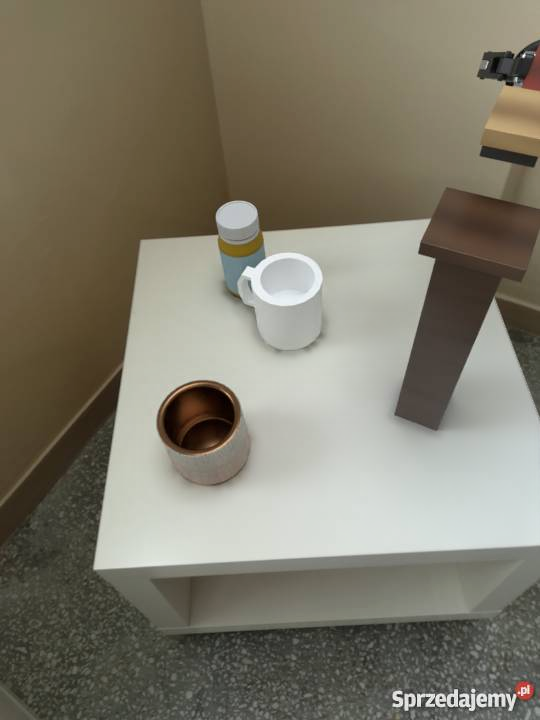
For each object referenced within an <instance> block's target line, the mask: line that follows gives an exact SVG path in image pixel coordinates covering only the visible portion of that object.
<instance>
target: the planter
mask: <svg viewBox="0 0 540 720" xmlns="http://www.w3.org/2000/svg"><path fill="white" fill-rule="evenodd" d="M155 428H156V431H157V435H158V437H159V439H160V441H161V443H162V445H163V446H164V448H165V450H166V452H167V454H168V456H169V458H170V460H171V462H172V464H173V466H174V468H175V469H176V470H177V472H178V473H179V474H180V475H181V476H182V477H183V478H185V479H186V480H188V481H190V482H192V483H195V484H199V485H205V486H206V485H207V486H208V485H209V486H210V485H216V484H220V483H223V482H225V481H228V480H229V479H231V478H233V477H234V476H235V475H236V474H238V473H239V472H240V471H241V470H242V468H243V467H244V465H245V464H246V462H247V460H248V458H249V454H250V448H251V437H250V434H249V430H248V426H247V423H246V420H245V416H244V412H243V408H242V404H241V401H240V400H239V397H238V396H237V394H236V393H235V392H234V391H233V390H232V389H231V388H230V387H229V386H227V385H226V384H224V383H221V382H219V381H217V380H212V379H197V380H191V381H188V382H185V383H182V384H181V385H178V386H177V387H176V388H174V389H173V390H172V391H170V392H169V393H168V394H167V395H166V396H165V398H164V399H163V400H162V402H161V404H160V405H159V408H158V411H157V413H156V418H155Z"/></svg>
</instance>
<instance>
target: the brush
mask: <svg viewBox="0 0 540 720" xmlns="http://www.w3.org/2000/svg"><path fill="white" fill-rule="evenodd" d="M479 145H480V146H481V148H480V152H479V157H480V158H484V159H490V160H495V161H500V162H505V163H509V164H514V165H518V166H523V167H528V168H533V169H534V168H535V167H536V165H537V162H538V160H539V158H540V45H539V47H538V49H537V52H536V54H535V57H534V60H533V62H532V64H531V67H530V69H529V71H528V74H527V76H526V78H525V80H524V83H523V85H522V87H521V88H518V87H512V86H506V85H505V84H504V85H503V86H502V88H501V91H500V93H499V95H498V97H497V100H496V102H495V104H494V106H493V108H492V110H491V113H490V115H489V117H488V119H487V121H486V123H485V125H484V128H483V132H482V135H481V139H480V143H479Z"/></svg>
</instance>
